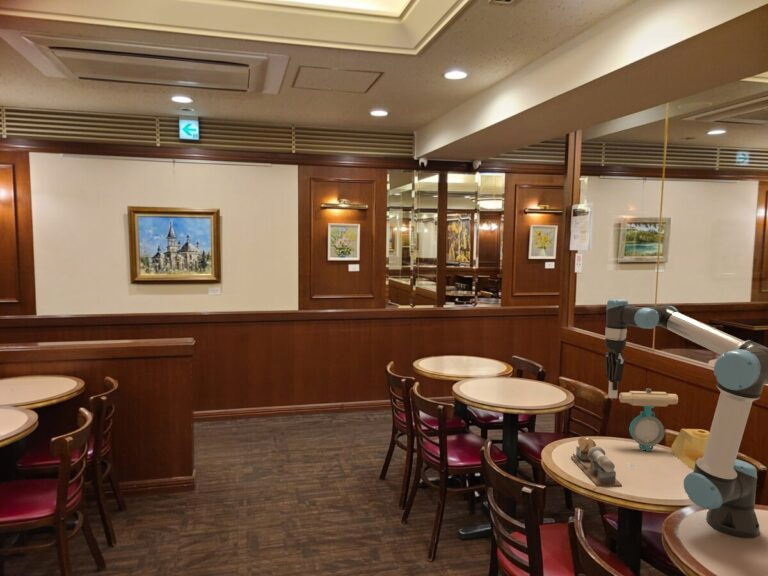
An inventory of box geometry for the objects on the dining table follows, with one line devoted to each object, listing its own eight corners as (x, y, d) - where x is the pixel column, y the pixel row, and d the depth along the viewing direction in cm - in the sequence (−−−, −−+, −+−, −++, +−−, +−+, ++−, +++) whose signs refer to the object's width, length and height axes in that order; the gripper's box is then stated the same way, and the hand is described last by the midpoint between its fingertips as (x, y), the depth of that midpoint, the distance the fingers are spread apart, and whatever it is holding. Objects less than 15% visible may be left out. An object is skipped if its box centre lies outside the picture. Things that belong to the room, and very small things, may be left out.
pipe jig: (621, 487, 207) (623, 459, 206) (596, 487, 207) (598, 459, 206) (591, 458, 236) (593, 433, 235) (570, 457, 236) (571, 433, 235)
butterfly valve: (671, 448, 249) (674, 387, 246) (677, 454, 242) (681, 391, 239) (613, 445, 251) (616, 385, 249) (618, 451, 244) (621, 389, 242)
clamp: (716, 472, 223) (718, 435, 222) (694, 471, 224) (696, 435, 222) (691, 453, 243) (693, 420, 242) (671, 453, 244) (673, 419, 242)
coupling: (595, 461, 229) (596, 438, 228) (579, 461, 229) (580, 438, 228) (590, 455, 235) (591, 434, 234) (574, 455, 235) (575, 434, 234)
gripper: (633, 341, 197) (630, 402, 199) (617, 335, 210) (614, 392, 212) (613, 341, 197) (610, 402, 199) (598, 335, 210) (596, 392, 212)
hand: (612, 397), depth 205 cm, fingers closed
